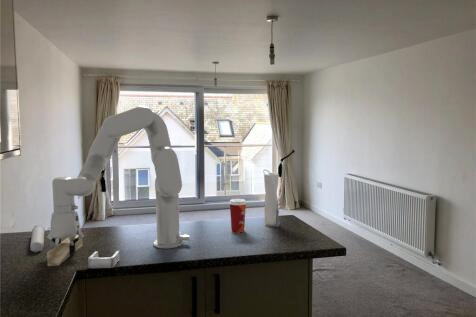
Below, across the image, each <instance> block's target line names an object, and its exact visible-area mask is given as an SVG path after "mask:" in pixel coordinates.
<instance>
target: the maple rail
mask: <svg viewBox="0 0 476 317" xmlns="http://www.w3.org/2000/svg"><path fill="white" fill-rule="evenodd" d="M77 237H78V235H76V238H77ZM69 246H70V240H69V238H64V240H63V241H62V240H61V243H60V244H58V245H57V246H56V245H55V246H54V247H53V248H51V249H50V250H48V251H47V252H46V259H47V266H48V267H55V266H57V267H59V266H60V265H62V262H63V263H64V262H65V261H66V260H67V259H68V258H70V257H71V256H72V255H70V248H69ZM82 246H83V238H81V239H80V240H78V241H77V242H76V243H75V249H76V251H75V253H76V252H77V251H78V250H79V249H81V248H82Z"/></svg>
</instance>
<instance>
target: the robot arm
mask: <svg viewBox="0 0 476 317" xmlns="http://www.w3.org/2000/svg"><path fill="white" fill-rule="evenodd" d="M143 129H144V130H145V133H146V136H147V140H148V145H149V148H150V149H149V150H150V156H151V157H150V159H151V162H152V164H153V166H154V171H155V181H154V188H155V189H154V191H155V207H156V208H155V212H156V216H155V217H156V218H155V219H156V239H155V240H154V241H153V246H154V247H155V248H158V249H165V250H167V249H174V248H178V246H179V247H180V246H182V245H183V244H184V241H190V240H191V235H188V234H182V231H180V199H179V198H180V197H179V196H180V195H179V194H180V192H181V191H182V187H183V181H182V176H181V170H180V164H179V163H180V162H179V158H178V155H177V153H176V151H175V150H174V149H173V148H172V144H171V139H170V134H169V130H168V127H167V123H166V122H165V120H164V119H163V118H162V117H161V115H159V114H158V113H157V112H156V111H154V110H152V109H151V108H150V107H148V106H146V105H139V106H136V107H133V108H131V109H128V110H124V111H123V112H120V113H119V112H118V113H117V114H114V115H113V114H112V115H110V116H108V117H106V118H105V119H104V120H103V122H102V124H101V126H100V128H99V130H98V132H97V134H96V136H95V138H94V141H93V142H92V144H91V145H90V148H89V150H88V152H87V153H88V154H87V157H86V159H85V161H84V164H83V166H82V168H81V170H80V171H79V173H78V176H77V178H75V177H74V178H73V177H71V176H58V177H55V178H53V179H52V184H51V186H52V202H53V204H52V205H53V206H52V207H53V212H52V214H51V217H50V218H51V219H50V228H49V229H50V231H49V232H48V235H47V236H46V238H47V239H49V240H51V241H52V242H53V243H54V245H55V247H56V246H57V245H58V244H60V243H61V242H62V239H67V238H69V240H70V246H69V248H70V255H71V256H73V255H74V254H75V253H76V252H77V251H76V249H75V243H76V242H77V241H78V240H80V239H81V238H82V239H83V238H84V234H83V232H82V231H81V222H80V217H79V213H78V209H79V205H76V203H75V196H76V197H86V196H87V197H88V196H89V195H91V194H92V193H93V192H94V190H95V186H96V184H97V181H98V179H99V177H100V175H101V174H102V171H103V170H104V168H105V166H106V165H107V164H108V162H109V161H110V160H111V158H112V156H113V154H114V152H115V150H116V148H117V147H118V144H119V142H120V140H121V138H122V137H124V136H126V135H130V134H132V133H135V132H137V131H140V130H143ZM76 235H78V237H77V238H76ZM75 251H76V252H75Z"/></svg>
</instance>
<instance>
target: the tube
mask: <svg viewBox="0 0 476 317" xmlns="http://www.w3.org/2000/svg"><path fill="white" fill-rule="evenodd" d="M45 233H46V231H45V227H44V226H42V225H35V226H34V227H33V228H32V229H31V239H30V251H31V252H33V253H39V251H40V252H42V250H43V249H44V246H45V245H44V243H45V242H44V241H45Z"/></svg>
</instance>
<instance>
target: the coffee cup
mask: <svg viewBox="0 0 476 317" xmlns="http://www.w3.org/2000/svg"><path fill="white" fill-rule="evenodd" d="M228 204H229V209H230V210H229V211H230V212H229V213H230V227H231V228H230V229H231V233H234V232H235V234H241V233H240V232H242V233H244V232H245V226H246V225H245V222H246V210H247V209H246V205H247V201H246V199H244V198H231V199H230V200H229V202H228Z"/></svg>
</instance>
